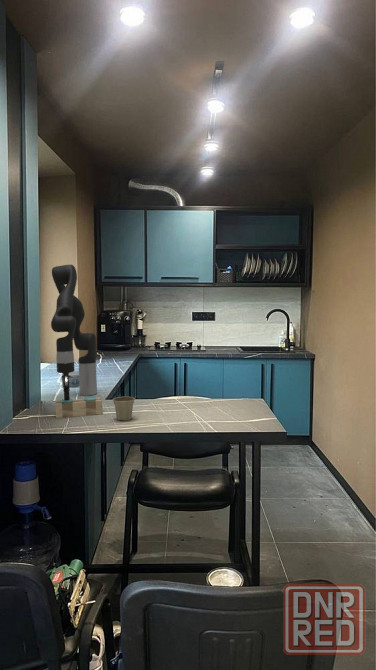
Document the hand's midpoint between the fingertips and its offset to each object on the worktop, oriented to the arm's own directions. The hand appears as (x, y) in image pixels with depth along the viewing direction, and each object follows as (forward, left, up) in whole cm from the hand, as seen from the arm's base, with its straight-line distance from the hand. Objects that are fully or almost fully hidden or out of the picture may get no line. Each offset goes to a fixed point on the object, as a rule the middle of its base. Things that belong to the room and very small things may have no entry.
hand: (66, 400), depth 199 cm
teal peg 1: (0, 0, -7) cm, 7 cm away
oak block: (0, +5, -7) cm, 8 cm away
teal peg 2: (0, +10, -7) cm, 12 cm away
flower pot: (+15, +23, -7) cm, 29 cm away
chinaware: (-72, +6, -7) cm, 72 cm away
